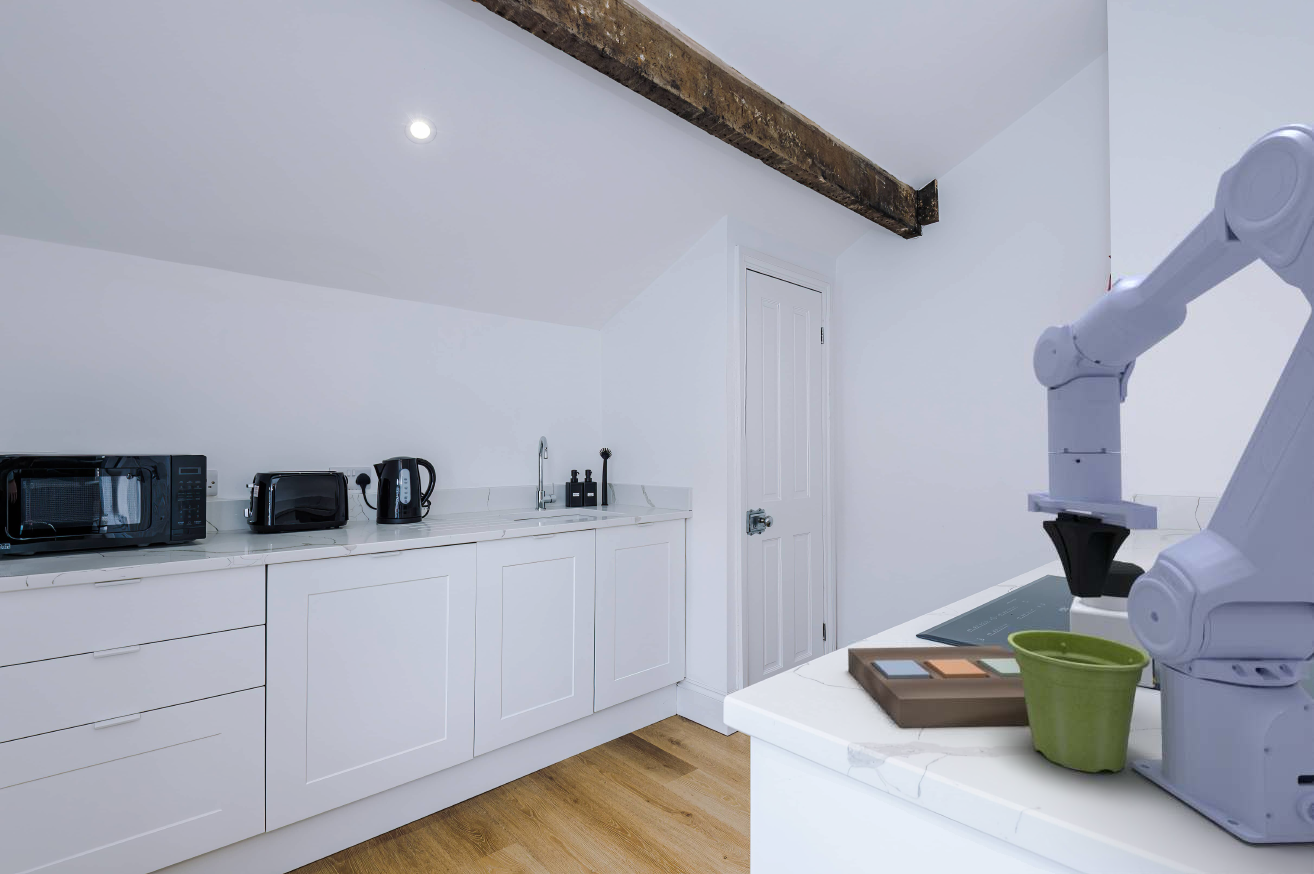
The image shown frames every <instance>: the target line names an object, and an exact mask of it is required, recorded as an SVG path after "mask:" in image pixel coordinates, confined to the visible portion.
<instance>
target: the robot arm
mask: <svg viewBox="0 0 1314 874" xmlns="http://www.w3.org/2000/svg"><path fill="white" fill-rule="evenodd" d="M1217 185H1218V186H1217V189H1216V193H1215V198H1214V207H1213V208H1212V209H1211V210H1210V211H1209V212H1208V213H1207V214H1206V215H1205V216H1204V217H1203V219H1201V220H1200V221H1199V222H1198V223H1197V225H1195V227H1194V228H1192V230H1190V231H1189V232H1188V233H1187V234H1186V236H1185V237H1184V238H1183V239H1182V240H1181V241H1179V242H1178V244H1177V245H1175V247H1174V248H1173V249H1172V250H1171V251H1170V252H1169V253H1168V254H1167V255H1166V256H1165V257H1164V258H1163V260H1161V261H1160V263H1158V264H1157V266H1155V267H1154V269H1153V270H1152V271H1151V272H1150V273H1149V274H1135V275H1129V276H1127V277H1126V276H1125V277H1119V278H1118V279H1117V280H1116V281H1115V282H1114V283H1112V284H1111V289H1110V290H1109V291H1107V292H1106V293H1104V295H1103V296H1102V297H1100V298H1099V300H1097V301H1096V302H1095V303H1094V304H1093V305H1092V306H1091V307H1089V308H1088V309H1087V310H1086V311H1085V312H1084V313H1082V315H1081V316H1079V318H1078V319H1076V320H1075V321H1073V323H1065V324H1064V325H1050V326H1048V327H1046V328H1045V329H1044V331H1043V332H1042V333H1041V335H1040V336H1039V337H1038V340H1037V341H1036V344H1035V347H1034V351H1033V357H1032V359H1033V361H1032V363H1033V364H1032V365H1033V370H1034V374H1035V377H1036V379H1037V381H1038V382H1039V384H1040V385H1042V386H1043V387H1045V388H1047V394H1046V395H1047V428H1048V429H1047V431H1048V432H1047V437H1048V438H1047V442H1048V443H1047V445H1048V446H1047V447H1048V451H1047V452H1048V457H1047V458H1048V492H1029V493H1027V511H1028V512H1032V513H1045V514H1050V515H1057V517H1055V520H1043V521H1042V528H1043V529H1044V531H1045V532H1046V534H1047V535H1048V537H1049V538H1050V540H1051V542H1052V544H1053V545H1054V548H1055V550H1056V552H1057V554H1058V557H1059V560H1060V562H1061V566H1062V568H1063V571H1064V572H1063V573H1064V574H1065V579H1066V581H1067V585H1068V588H1069V591H1070V594H1071V595H1072V596H1075V597H1080V598H1101V596H1102V593H1103V590H1104V586H1105V583H1106V579H1107V576H1108V573H1109V570H1110V567H1111V564H1112V562H1113V560H1115V558H1116V555H1117V553H1118V551H1119V550H1120V548H1121V547H1122V545H1123V544H1124V542H1125V541H1126V540H1127V538H1128V537H1129V536H1130V535H1131V530H1134V531H1135V530H1136V531H1139V530H1140V531H1141V530H1144V531H1145V530H1150V531H1152V530H1153V531H1155V530H1158V508H1157V506H1153V505H1148V504H1147V505H1146V504H1141V503H1137V502H1132V501H1129V500H1125V499H1123V495H1122V494H1123V492H1122V491H1123V490H1122V488H1123V487H1122V453H1121V452H1122V445H1121V444H1122V442H1121V441H1122V438H1121V433H1122V431H1121V404H1123V403H1125V401H1126V398H1127V397H1128V384H1129V380H1130V378H1131V376H1132V374H1133V371H1134V369H1135V366H1136V363H1137V362H1136V361H1137V359H1138V358H1139V357H1140V356H1142V355H1143V354H1144V353H1146V352H1147V351H1148V350H1150V349H1151V348H1153V347H1154V346H1155V345H1157V344H1159V343H1160V342H1162V341H1163V340H1164V339H1165V338H1168V336H1171V334H1173V333H1174V332H1175V331H1178V329H1179V328H1181V326H1182V325H1183V324H1184V323H1185V320H1186V317H1187V313H1188V309H1187V305H1188V304H1189V303H1191V302H1193V301H1195V300H1196V299H1197V298H1199V297H1201V296H1202V295H1204V294H1205V293H1207V292H1209V291H1210V290H1211V289H1213V288H1215V287H1216V286H1218V285H1220V284H1221V283H1223V282H1224V281H1226V280H1227V279H1229V278H1231V276H1234V275H1235V274H1237V273H1238V272H1240V271H1241V270H1243V269H1244V268H1246V267H1248V266H1249V265H1251V264H1253V263H1254V262H1255V261H1257V260H1259V259H1260V260H1261V261H1262V262H1263V263H1264V264H1265V265H1266V266H1267V267H1268V268H1270V270H1271V271H1272V272H1274V273H1275V274H1276V275H1277V276H1278V277H1279V278H1280V279H1281V280H1282V281H1283V282H1284V283H1286V284H1287V285H1290V286H1292V287H1295V288H1297V289H1298V290H1299V289H1300V291H1301V293H1302V294H1303V296H1304V297H1305V299H1306V300H1307V302H1308V304H1309V306H1310V308H1311V313H1310V315H1309V317H1308V319H1307V321H1306V323H1305V325H1304V327H1303V329H1302V331H1301V333H1300V335H1299V337H1298V340H1297V342H1296V343H1295V346H1294V347H1293V349H1292V351H1291V354H1290V356H1289V358H1288V360H1287V362H1286V364H1285V365H1284V368H1283V370H1282V372H1281V374H1280V377H1279V379H1278V381H1276V384H1275V387H1274V389H1273V391H1272V392H1271V395H1270V397H1269V399H1268V401H1267V403H1266V405H1265V407H1264V409H1263V412H1262V413H1261V416H1260V417H1259V420H1258V421H1257V424H1256V425H1255V428H1254V430H1253V432H1252V434H1251V436H1250V438H1249V440H1248V442H1247V444H1246V446H1245V447H1244V450H1243V452H1242V454H1241V456H1240V458H1239V460H1238V463H1237V465H1236V467H1235V469H1234V470H1233V473H1232V474H1231V477H1230V480H1228V483H1227V485H1226V488H1225V490H1224V491H1223V493H1222V496H1221V497H1220V499H1219V502H1218V504H1217V506H1216V508H1215V510H1214V512H1213V514H1212V516H1211V518H1210V520H1209V521H1208V524H1207V526H1206V528H1205V529H1203V530H1202V531H1200V532H1198V533H1195V534H1194V535H1192V536H1189V537H1187V538H1185V539H1183V540H1180V541H1179V542H1177V543H1174V544H1172V545H1170V546H1167V548H1164V549H1163V550H1161V551H1160V552H1158V555H1157V557H1156V559H1155V561H1154V563H1153V565H1152V566H1151V568H1150V569H1149V570H1147V571H1146V572H1145V573H1144V574H1142V575H1141V576H1139V577H1138V578H1137V579H1136V581H1135V582H1134V583H1133V585H1132V588H1131V590H1130V593H1129V596H1128V601H1127V612H1128V618H1129V622H1130V625H1131V628H1132V630H1133V632H1134V634H1135V636H1136V637H1137V639H1138V640H1139V642H1140V643H1141V644H1142V646H1143V647H1144V648H1145V649H1146V650H1147V651H1148V652H1149V657H1150V658H1153V659H1154V660H1155V661H1158V662H1159V679H1160V680H1159V682H1160V716H1161V717H1160V720H1161V723H1160V724H1161V725H1160V727H1161V757H1162V759H1135V760H1134V759H1133V760H1131V768H1133V769H1134V770H1135V771H1137V772H1139V773H1140V774H1141V775H1143V776H1144V777H1146V778H1147V779H1149V780H1151V781H1152V782H1154V783H1155V784H1157V785H1158V786H1160V787H1162V788H1163V789H1164V790H1165V791H1168V792H1169V793H1171V794H1172V795H1174V796H1175V797H1177V798H1179V800H1182V801H1183V802H1185V803H1186V804H1188V805H1189V806H1191V807H1192V808H1193V809H1195V810H1197V811H1198V812H1199V813H1201V814H1202V815H1204V816H1206V817H1207V818H1209V819H1210V820H1212V821H1214V822H1215V823H1217V824H1218V825H1219V826H1221V827H1223V828H1224V829H1225V830H1227V831H1228V832H1230V833H1232V834H1233V835H1235V836H1236V837H1238V838H1240V839H1241V840H1243V841H1244V842H1248V843H1250V844H1252V843H1253V844H1271V843H1276V844H1277V843H1280V844H1281V843H1312V842H1314V698H1313V697H1312V696H1311V695H1310V694H1308V693H1307V692H1306V691H1305V689H1304V688H1303V687H1302V686H1301V684H1300V683H1299V681H1300V680H1308V679H1310V665H1311V664H1314V124H1312V123H1290V124H1286V125H1281V126H1279V127H1277V128H1274V129H1272V130H1271V131H1269V132H1266V133H1265V134H1264V135H1262V136H1261V137H1260V138H1258V139H1257V140H1256V141H1255V142H1253V143H1252V144H1251V146H1249V148H1248V149H1247V150H1246V151H1245V152H1244V154H1242V156H1241V157H1240V158H1239V160H1238V162H1236V163H1234V164H1233V165H1231V166H1230V167H1229V168H1228V169H1226V171H1224V172H1223V173H1222V174H1221V175H1220V178H1219V182H1218V184H1217ZM1078 511H1081V512H1078ZM1085 512H1089V513H1085Z"/></svg>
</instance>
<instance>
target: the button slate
mask: <svg viewBox="0 0 1314 874" xmlns="http://www.w3.org/2000/svg"><path fill="white" fill-rule="evenodd" d="M874 667H875V668H876V669H877V670H878V671H879V672H880V673H881V674H882V675H883V676H884V677H885V678H886V679H930V674H929V673H928V672H927V671H925V670H924V669H923V668H921V667H920V666H919V665H918V664H916V663H915V662H914V661H913V660H895V661H874Z"/></svg>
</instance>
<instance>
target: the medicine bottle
mask: <svg viewBox="0 0 1314 874" xmlns="http://www.w3.org/2000/svg"><path fill="white" fill-rule="evenodd" d="M1145 571H1146V570H1145V569H1144V568H1142V567H1141V566H1140V565H1137V564H1135V563H1134V562H1129V561H1123V560H1119V559H1118V560H1117V559H1113V562H1112V564H1111V567H1110V570H1109V573H1108V576H1107V579H1106V583H1105V586H1104V590H1103V593H1102V596H1101V598H1080V597H1077V596H1075V597H1074V598H1073V601H1072V603H1071V606H1070V608H1069V632H1072V633H1079V634H1085V635H1091V636H1096V637H1101V638H1105V639H1109V640H1113V641H1117V642H1121V643H1124V644H1127V645H1130V646H1132V647H1135V648H1137V649H1139V650H1141V651H1143V652H1145V653H1146V654H1147V655H1148V656H1149V652H1148V651H1147V650H1146V649H1145V648H1144V647H1143V646H1142V644H1141V643H1140V642H1139V640H1138V639H1137V637H1136V636H1135V634H1134V632H1133V630H1132V628H1131V625H1130V622H1129V618H1128V612H1127V601H1128V596H1129V593H1130V590H1131V588H1132V585H1133V583H1134V582H1135V581H1136V579H1137V578H1138V577H1139V576H1141V575H1142V574H1144V573H1146V572H1145ZM1149 658H1150V657H1149ZM1155 661H1156V660H1155V659H1153V658H1150V663H1149V665H1148V666H1147V667H1146V668H1143V671H1142V677H1141V681H1140V683H1139V684H1137V686H1139V687H1146V688H1150V689H1151V688H1152V689H1153V688H1155V686H1156V670H1155V669H1156V667H1155V666H1156V665H1155V664H1156V663H1155Z"/></svg>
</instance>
